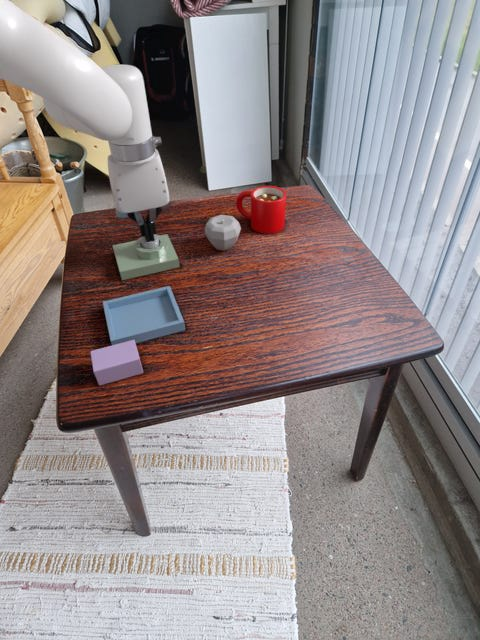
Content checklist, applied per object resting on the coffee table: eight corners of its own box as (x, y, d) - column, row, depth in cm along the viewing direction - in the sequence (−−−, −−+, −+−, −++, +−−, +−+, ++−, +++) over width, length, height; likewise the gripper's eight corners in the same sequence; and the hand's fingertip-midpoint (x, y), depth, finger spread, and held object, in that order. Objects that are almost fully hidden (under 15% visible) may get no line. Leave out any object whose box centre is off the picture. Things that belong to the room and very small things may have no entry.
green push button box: (121, 280, 85) (117, 264, 82) (114, 253, 91) (110, 238, 89) (179, 267, 87) (177, 251, 85) (168, 242, 94) (166, 226, 91)
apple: (204, 237, 95) (202, 211, 91) (239, 234, 96) (238, 208, 91) (206, 258, 90) (204, 231, 85) (243, 255, 90) (243, 228, 86)
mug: (242, 210, 104) (241, 180, 98) (288, 219, 100) (290, 188, 95) (229, 226, 99) (228, 195, 93) (277, 236, 95) (279, 204, 90)
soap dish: (113, 349, 71) (110, 341, 70) (105, 310, 78) (102, 301, 77) (185, 330, 74) (184, 321, 73) (171, 293, 81) (169, 285, 80)
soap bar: (99, 385, 66) (93, 371, 63) (95, 365, 69) (90, 350, 66) (143, 373, 67) (139, 359, 65) (138, 353, 70) (134, 339, 68)
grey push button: (143, 251, 86) (142, 244, 84) (140, 242, 88) (139, 235, 87) (161, 247, 86) (159, 240, 85) (157, 238, 89) (156, 231, 88)
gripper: (169, 134, 78) (180, 221, 90) (86, 146, 74) (110, 236, 87) (179, 149, 73) (189, 239, 85) (90, 163, 69) (115, 255, 82)
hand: (149, 237), depth 86 cm, fingers closed
